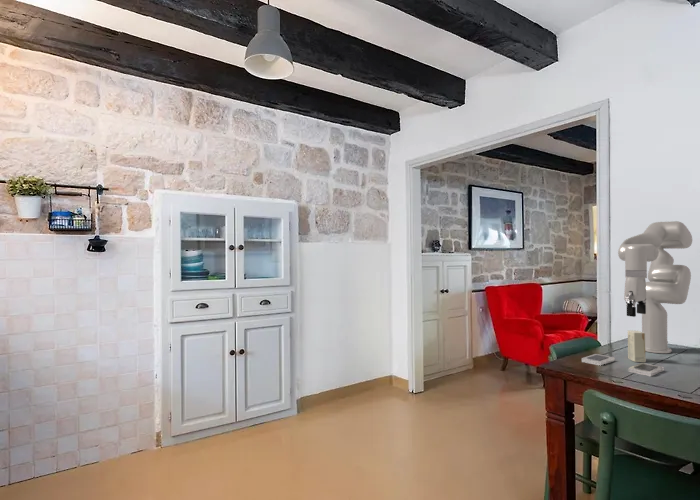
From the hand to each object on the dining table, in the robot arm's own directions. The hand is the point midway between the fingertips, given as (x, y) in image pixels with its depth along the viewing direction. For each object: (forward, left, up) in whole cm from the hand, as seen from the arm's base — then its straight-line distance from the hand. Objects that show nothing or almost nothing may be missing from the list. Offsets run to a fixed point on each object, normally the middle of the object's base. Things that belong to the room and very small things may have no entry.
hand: (636, 314), depth 177 cm
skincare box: (0, 0, -19) cm, 19 cm away
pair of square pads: (+14, 0, -19) cm, 24 cm away
